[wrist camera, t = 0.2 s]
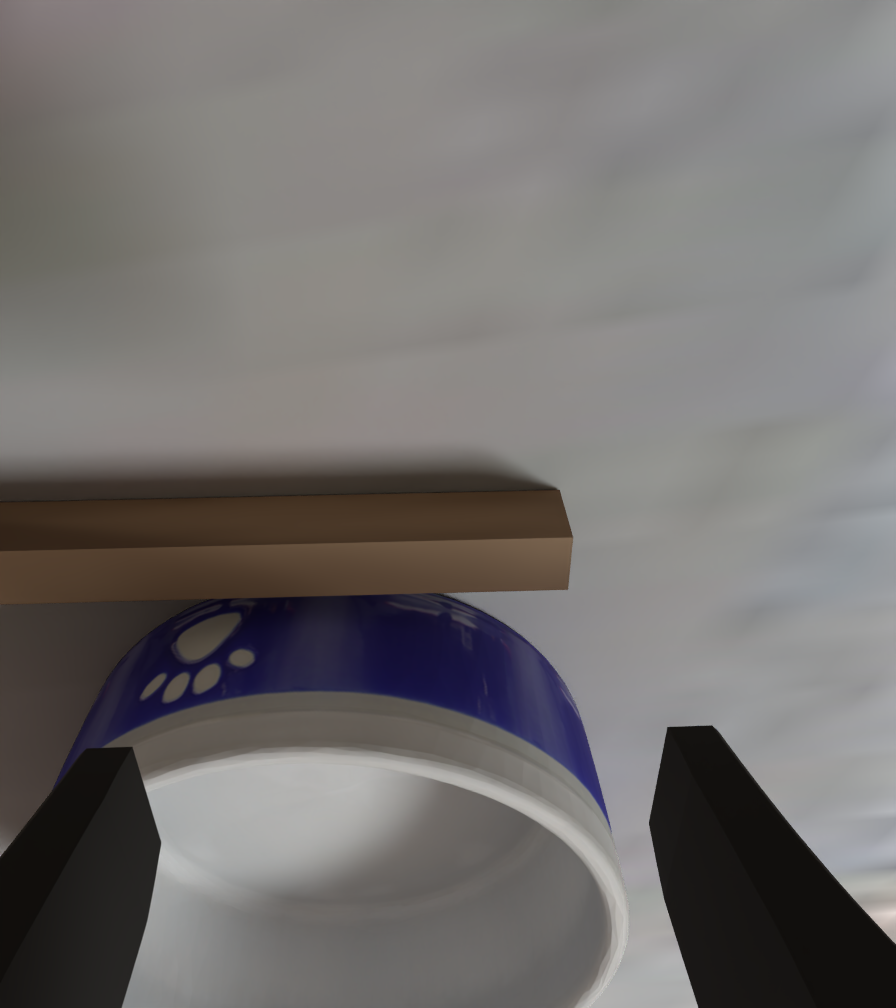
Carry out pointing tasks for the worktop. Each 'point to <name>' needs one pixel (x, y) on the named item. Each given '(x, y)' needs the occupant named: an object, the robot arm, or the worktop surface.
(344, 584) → the wooden tray
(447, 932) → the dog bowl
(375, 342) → the worktop surface
